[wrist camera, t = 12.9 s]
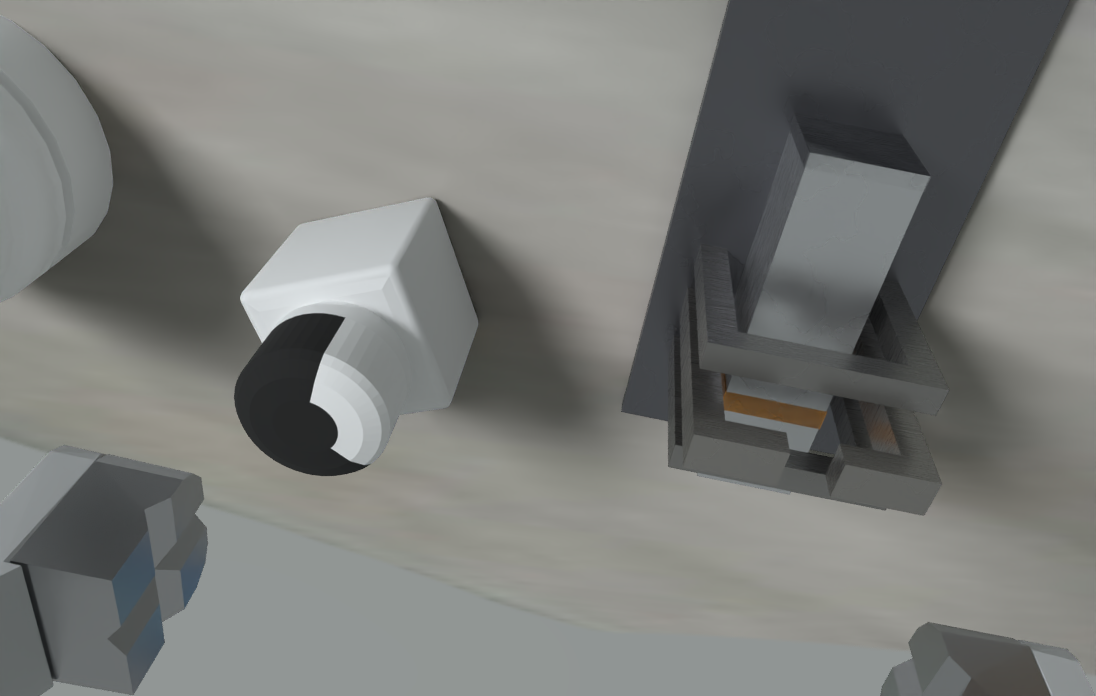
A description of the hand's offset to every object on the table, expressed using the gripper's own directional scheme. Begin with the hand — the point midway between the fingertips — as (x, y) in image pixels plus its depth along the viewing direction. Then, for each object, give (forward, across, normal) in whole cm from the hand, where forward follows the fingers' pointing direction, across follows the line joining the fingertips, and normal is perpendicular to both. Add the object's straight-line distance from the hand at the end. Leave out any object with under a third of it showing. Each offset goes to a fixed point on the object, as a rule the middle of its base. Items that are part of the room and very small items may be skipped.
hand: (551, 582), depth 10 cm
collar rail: (+29, -9, +5) cm, 31 cm away
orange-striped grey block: (+28, -9, +10) cm, 32 cm away
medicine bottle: (+29, +9, +14) cm, 34 cm away
